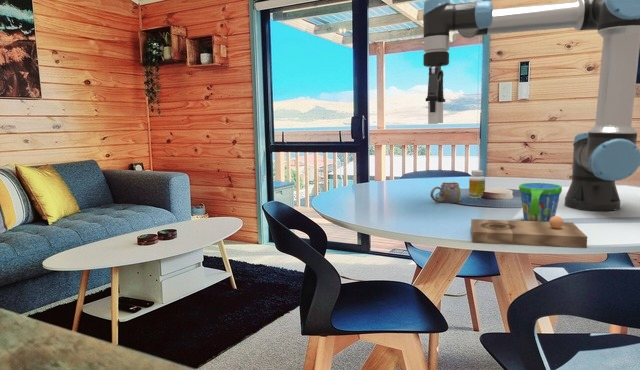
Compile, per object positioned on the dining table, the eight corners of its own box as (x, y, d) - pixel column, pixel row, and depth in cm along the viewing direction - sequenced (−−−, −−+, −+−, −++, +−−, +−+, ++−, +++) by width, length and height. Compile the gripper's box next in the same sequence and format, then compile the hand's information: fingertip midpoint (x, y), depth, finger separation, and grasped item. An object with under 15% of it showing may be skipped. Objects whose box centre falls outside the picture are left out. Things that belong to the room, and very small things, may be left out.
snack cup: (552, 230, 118) (553, 190, 116) (509, 224, 124) (510, 187, 123) (566, 218, 129) (568, 183, 128) (527, 214, 136) (528, 180, 135)
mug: (451, 199, 164) (451, 181, 164) (464, 202, 158) (464, 182, 157) (423, 202, 160) (423, 183, 159) (436, 205, 153) (436, 185, 153)
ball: (561, 227, 110) (562, 214, 110) (564, 230, 107) (564, 217, 107) (547, 226, 111) (548, 214, 111) (550, 229, 108) (550, 217, 108)
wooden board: (572, 232, 115) (572, 222, 114) (586, 247, 102) (587, 236, 101) (471, 228, 122) (471, 218, 121) (472, 242, 108) (472, 231, 108)
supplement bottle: (478, 199, 163) (479, 172, 161) (465, 197, 167) (466, 170, 165) (487, 197, 166) (488, 170, 164) (474, 195, 170) (475, 169, 169)
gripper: (429, 57, 151) (429, 122, 154) (416, 47, 128) (417, 124, 131) (452, 56, 148) (452, 122, 151) (444, 45, 125) (444, 124, 128)
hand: (435, 123), depth 141 cm, fingers open, 13 cm apart
